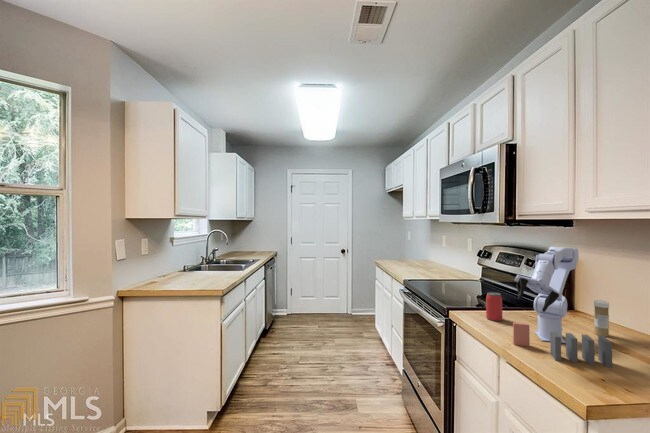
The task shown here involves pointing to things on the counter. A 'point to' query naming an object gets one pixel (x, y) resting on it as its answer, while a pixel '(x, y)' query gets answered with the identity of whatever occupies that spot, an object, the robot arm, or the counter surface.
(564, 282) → the robot arm
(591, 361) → the domino
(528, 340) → the red domino
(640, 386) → the counter surface
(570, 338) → the domino
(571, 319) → the counter surface
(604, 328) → the sprinkles bottle
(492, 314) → the beer can
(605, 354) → the domino
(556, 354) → the domino
